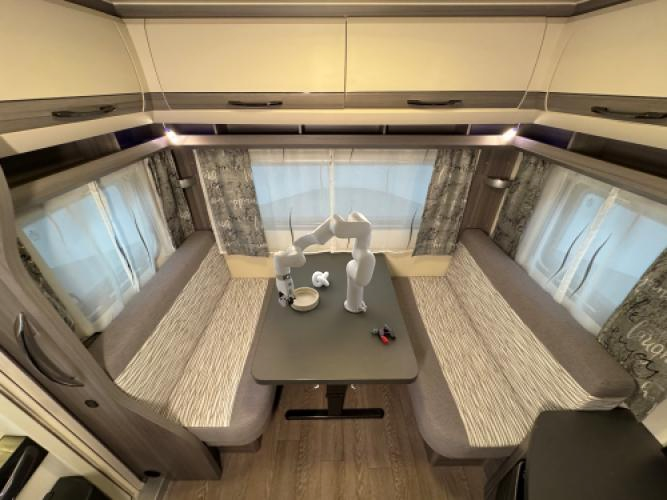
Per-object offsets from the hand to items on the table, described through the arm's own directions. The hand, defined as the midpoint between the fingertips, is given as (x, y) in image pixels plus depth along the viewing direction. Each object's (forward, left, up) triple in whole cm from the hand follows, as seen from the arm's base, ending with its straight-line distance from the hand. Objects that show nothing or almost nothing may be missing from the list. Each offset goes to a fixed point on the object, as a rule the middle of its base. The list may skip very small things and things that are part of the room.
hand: (286, 300), depth 140 cm
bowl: (+6, -17, -15) cm, 24 cm away
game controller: (0, 0, -1) cm, 1 cm away
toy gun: (-45, -28, -15) cm, 55 cm away
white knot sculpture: (+11, -37, -15) cm, 42 cm away
